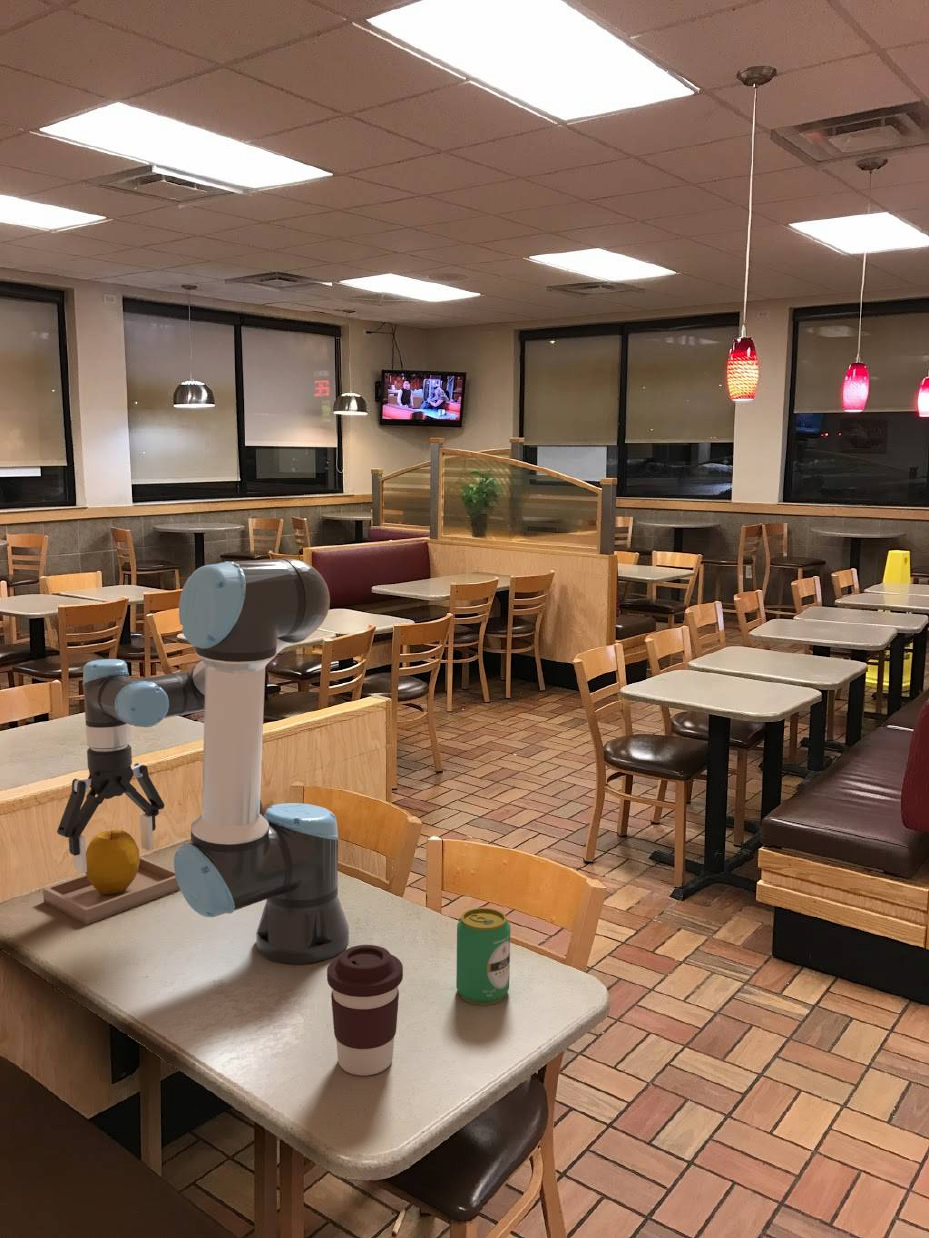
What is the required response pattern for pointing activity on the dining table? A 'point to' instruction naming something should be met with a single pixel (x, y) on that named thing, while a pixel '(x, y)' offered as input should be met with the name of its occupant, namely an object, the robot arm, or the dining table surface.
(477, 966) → the beverage can
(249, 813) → the robot arm
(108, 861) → the apple
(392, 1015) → the coffee cup
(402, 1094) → the dining table surface
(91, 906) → the tray
